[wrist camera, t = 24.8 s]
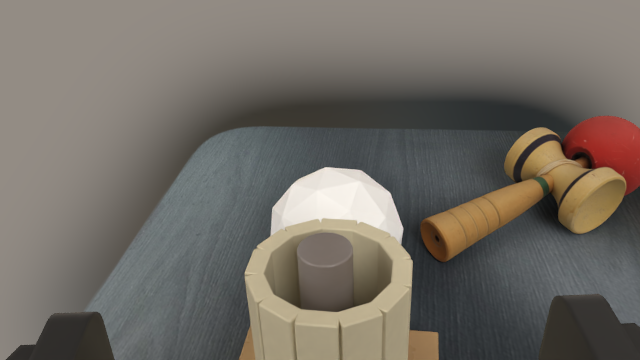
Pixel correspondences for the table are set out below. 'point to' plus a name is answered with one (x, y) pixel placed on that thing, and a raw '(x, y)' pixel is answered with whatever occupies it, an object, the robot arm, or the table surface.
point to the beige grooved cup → (323, 326)
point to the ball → (337, 201)
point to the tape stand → (337, 289)
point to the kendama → (548, 183)
